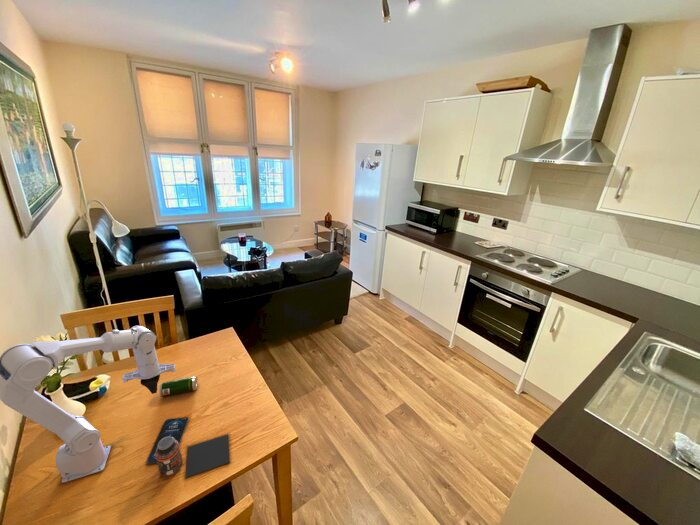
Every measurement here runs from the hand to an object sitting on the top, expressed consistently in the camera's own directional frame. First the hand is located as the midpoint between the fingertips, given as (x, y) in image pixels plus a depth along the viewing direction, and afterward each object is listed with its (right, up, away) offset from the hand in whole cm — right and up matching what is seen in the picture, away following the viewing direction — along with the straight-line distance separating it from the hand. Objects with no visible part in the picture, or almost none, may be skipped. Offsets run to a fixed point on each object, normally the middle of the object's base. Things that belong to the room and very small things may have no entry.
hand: (154, 391), depth 99 cm
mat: (+23, -16, -9) cm, 29 cm away
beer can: (-4, -4, +10) cm, 11 cm away
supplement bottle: (+14, -17, -13) cm, 25 cm away
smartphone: (+8, -14, -5) cm, 17 cm away
